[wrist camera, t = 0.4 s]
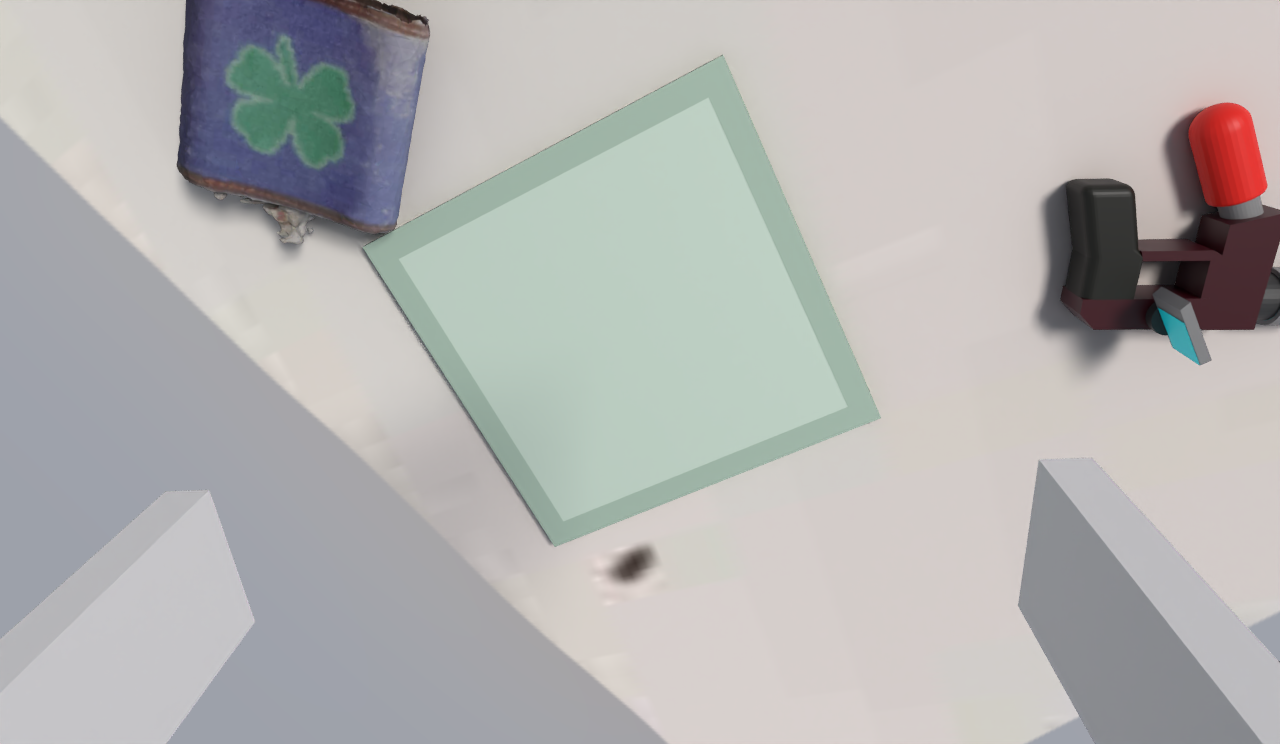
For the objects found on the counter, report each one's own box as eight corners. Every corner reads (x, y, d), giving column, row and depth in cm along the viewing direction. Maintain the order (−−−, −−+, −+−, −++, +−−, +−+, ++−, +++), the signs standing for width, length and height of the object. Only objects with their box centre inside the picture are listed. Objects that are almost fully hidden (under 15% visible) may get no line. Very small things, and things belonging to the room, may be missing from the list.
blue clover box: (423, 22, 30) (380, 279, 34) (442, 18, 32) (400, 258, 37) (171, -59, 29) (163, 217, 33) (212, -57, 31) (199, 199, 36)
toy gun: (1311, 323, 36) (1399, 365, 31) (1035, 325, 36) (1082, 365, 32) (1384, 96, 32) (1496, 105, 27) (1074, 103, 33) (1133, 114, 28)
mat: (367, 244, 37) (362, 247, 36) (722, 54, 32) (723, 55, 32) (556, 540, 42) (554, 546, 42) (878, 412, 38) (881, 417, 38)
